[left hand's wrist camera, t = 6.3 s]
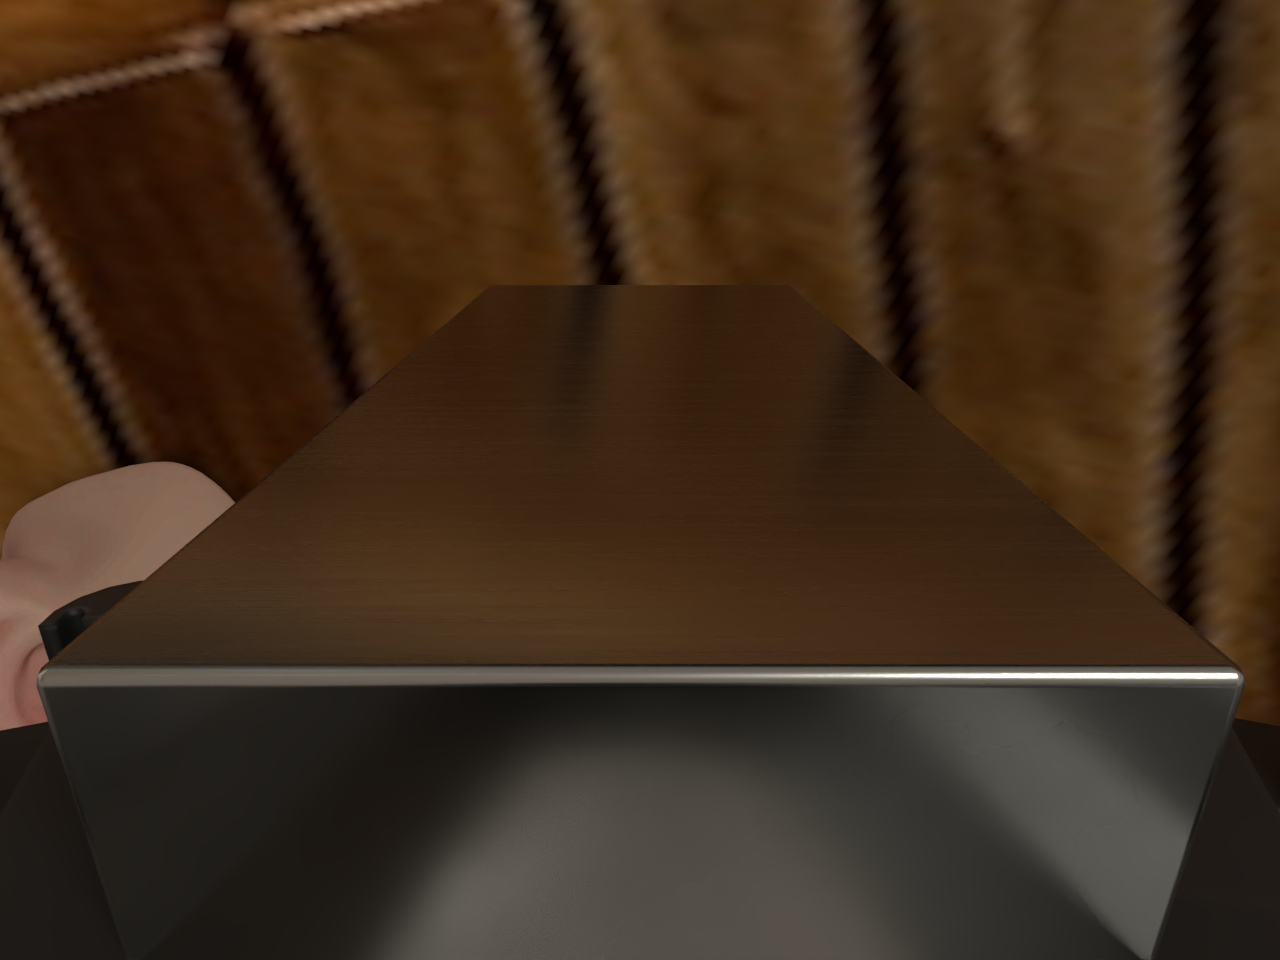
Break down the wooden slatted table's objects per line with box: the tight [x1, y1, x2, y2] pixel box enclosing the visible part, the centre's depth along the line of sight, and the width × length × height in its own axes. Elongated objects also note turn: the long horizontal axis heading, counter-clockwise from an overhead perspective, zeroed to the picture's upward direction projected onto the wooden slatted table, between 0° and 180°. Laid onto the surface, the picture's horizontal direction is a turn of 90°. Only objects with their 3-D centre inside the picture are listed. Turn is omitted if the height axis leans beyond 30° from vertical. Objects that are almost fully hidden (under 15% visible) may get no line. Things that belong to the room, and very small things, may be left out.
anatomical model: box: [0, 462, 235, 731], centre depth 27 cm, size 13×4×12 cm
